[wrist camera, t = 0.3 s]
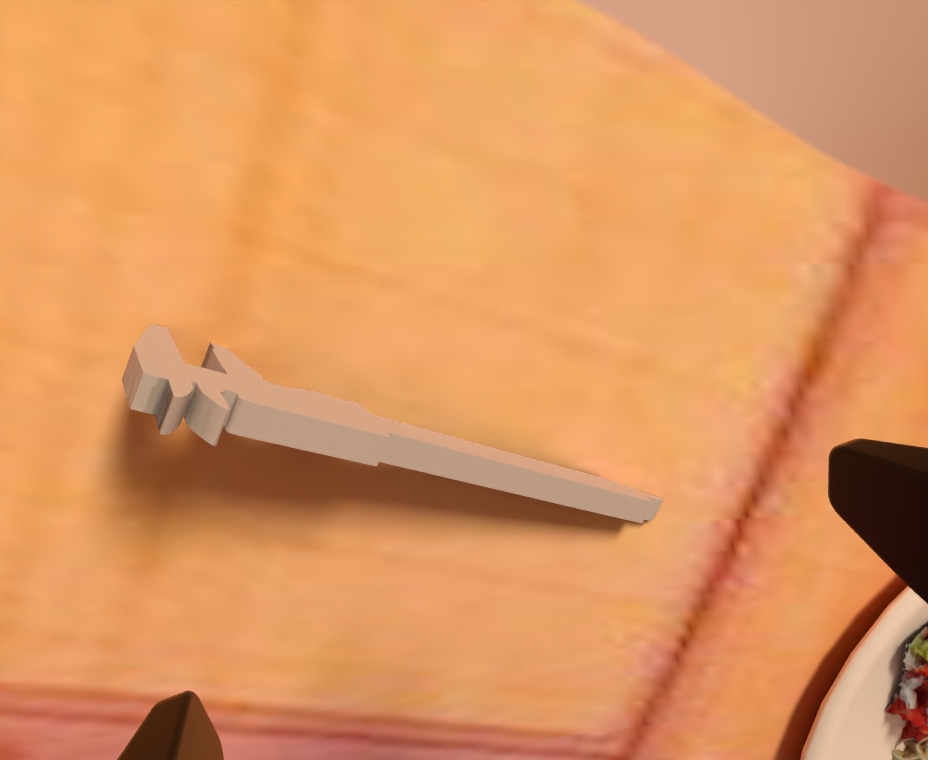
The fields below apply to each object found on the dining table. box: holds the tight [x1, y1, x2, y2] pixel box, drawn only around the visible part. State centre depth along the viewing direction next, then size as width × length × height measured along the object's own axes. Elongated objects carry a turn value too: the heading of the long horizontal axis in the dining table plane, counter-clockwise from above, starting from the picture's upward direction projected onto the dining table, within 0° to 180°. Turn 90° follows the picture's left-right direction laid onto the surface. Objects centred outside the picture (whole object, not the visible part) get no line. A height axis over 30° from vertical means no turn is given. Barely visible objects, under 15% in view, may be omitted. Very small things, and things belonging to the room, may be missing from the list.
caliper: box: [122, 325, 663, 523], centre depth 22 cm, size 21×1×6 cm, turn 66°
